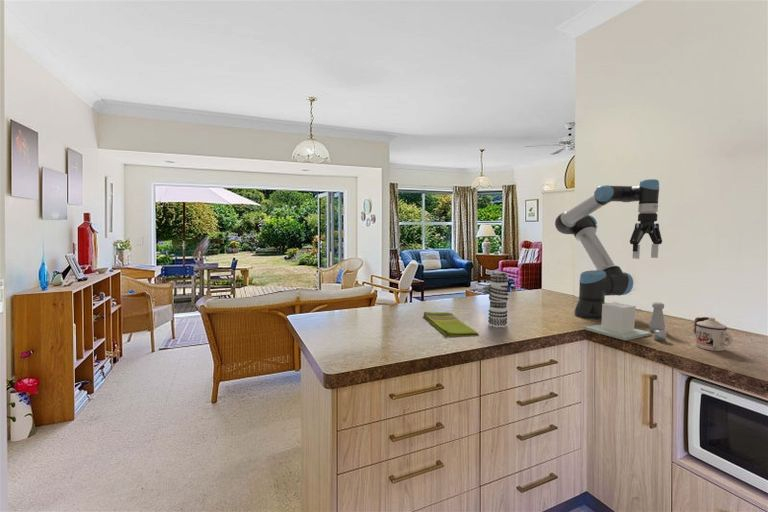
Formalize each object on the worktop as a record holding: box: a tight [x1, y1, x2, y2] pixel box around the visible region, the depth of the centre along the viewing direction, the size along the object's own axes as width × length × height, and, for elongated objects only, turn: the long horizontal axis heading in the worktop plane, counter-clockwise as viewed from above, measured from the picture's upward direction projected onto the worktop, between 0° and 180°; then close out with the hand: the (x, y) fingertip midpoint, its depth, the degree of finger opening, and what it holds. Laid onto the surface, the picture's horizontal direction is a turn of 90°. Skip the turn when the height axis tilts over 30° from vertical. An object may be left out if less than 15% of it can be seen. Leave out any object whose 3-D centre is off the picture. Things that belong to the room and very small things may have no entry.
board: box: [584, 323, 652, 341], centre depth 167 cm, size 18×18×1 cm
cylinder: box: [653, 329, 667, 343], centre depth 155 cm, size 4×4×4 cm
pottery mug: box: [693, 316, 710, 334], centre depth 167 cm, size 12×10×8 cm
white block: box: [600, 301, 636, 334], centre depth 167 cm, size 9×9×11 cm
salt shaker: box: [648, 301, 666, 333], centre depth 168 cm, size 6×6×13 cm
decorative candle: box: [487, 271, 510, 328], centre depth 177 cm, size 9×9×25 cm
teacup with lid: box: [695, 317, 734, 352], centre depth 145 cm, size 12×9×12 cm
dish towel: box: [422, 311, 480, 338], centre depth 178 cm, size 15×36×3 cm, turn 9°
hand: (645, 258), depth 180 cm, fingers open, 13 cm apart
